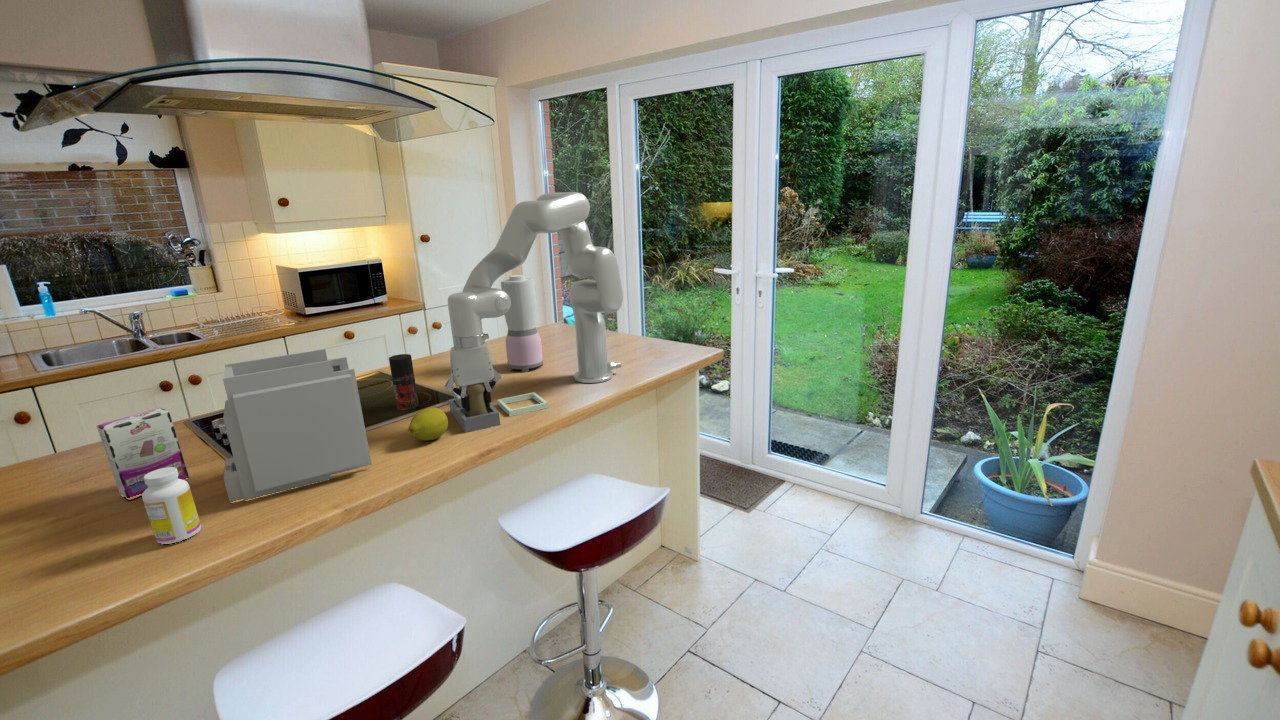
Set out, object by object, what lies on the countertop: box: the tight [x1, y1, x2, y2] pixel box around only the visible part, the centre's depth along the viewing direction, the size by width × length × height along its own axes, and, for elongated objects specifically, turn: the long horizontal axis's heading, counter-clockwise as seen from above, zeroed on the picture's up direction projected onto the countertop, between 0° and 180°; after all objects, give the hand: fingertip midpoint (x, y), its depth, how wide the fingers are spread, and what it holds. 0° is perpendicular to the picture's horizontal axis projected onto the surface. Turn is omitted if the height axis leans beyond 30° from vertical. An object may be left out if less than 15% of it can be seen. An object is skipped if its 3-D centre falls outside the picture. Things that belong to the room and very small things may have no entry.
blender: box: [500, 274, 544, 373], centre depth 199 cm, size 16×12×32 cm
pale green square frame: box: [497, 391, 549, 417], centre depth 164 cm, size 11×11×2 cm
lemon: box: [408, 407, 449, 441], centre depth 143 cm, size 11×8×8 cm
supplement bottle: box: [141, 467, 202, 544], centre depth 104 cm, size 7×7×13 cm
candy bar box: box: [96, 407, 190, 498], centre depth 123 cm, size 11×5×16 cm, turn 148°
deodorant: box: [388, 353, 419, 411], centre depth 166 cm, size 6×6×15 cm
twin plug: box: [453, 392, 467, 408], centre depth 160 cm, size 6×6×7 cm
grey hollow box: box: [448, 398, 501, 433], centre depth 157 cm, size 18×9×4 cm, turn 30°
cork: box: [466, 383, 488, 418], centre depth 152 cm, size 6×6×11 cm
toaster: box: [222, 348, 373, 503], centre depth 124 cm, size 17×27×26 cm, turn 123°
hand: (477, 407), depth 153 cm, fingers open, 4 cm apart
